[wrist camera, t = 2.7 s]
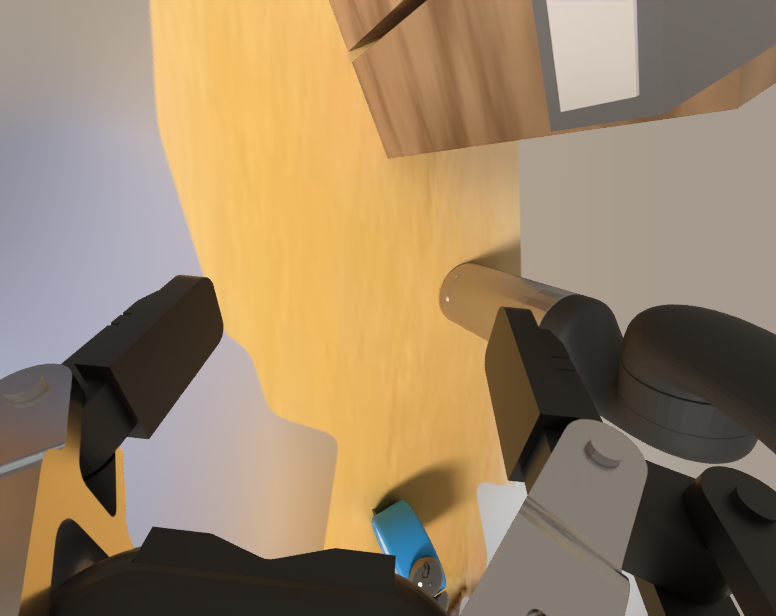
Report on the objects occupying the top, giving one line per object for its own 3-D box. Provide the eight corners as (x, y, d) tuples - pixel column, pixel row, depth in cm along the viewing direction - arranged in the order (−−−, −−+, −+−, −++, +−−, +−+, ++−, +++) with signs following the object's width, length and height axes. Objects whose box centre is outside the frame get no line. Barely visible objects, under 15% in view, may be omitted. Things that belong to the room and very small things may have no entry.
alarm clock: (363, 500, 56) (409, 592, 44) (396, 480, 58) (449, 563, 46) (380, 549, 62) (425, 644, 49) (410, 530, 64) (460, 615, 51)
